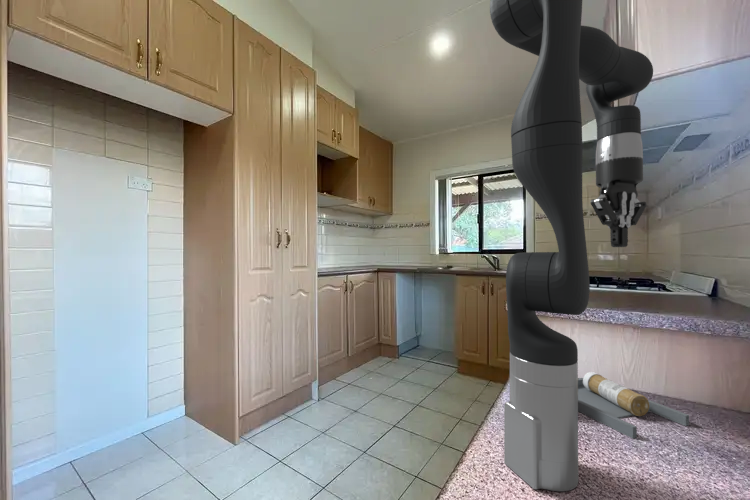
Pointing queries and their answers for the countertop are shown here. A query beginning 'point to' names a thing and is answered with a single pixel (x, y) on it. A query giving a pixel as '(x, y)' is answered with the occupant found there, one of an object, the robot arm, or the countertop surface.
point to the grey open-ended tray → (620, 411)
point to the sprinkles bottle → (616, 393)
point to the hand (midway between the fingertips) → (619, 247)
